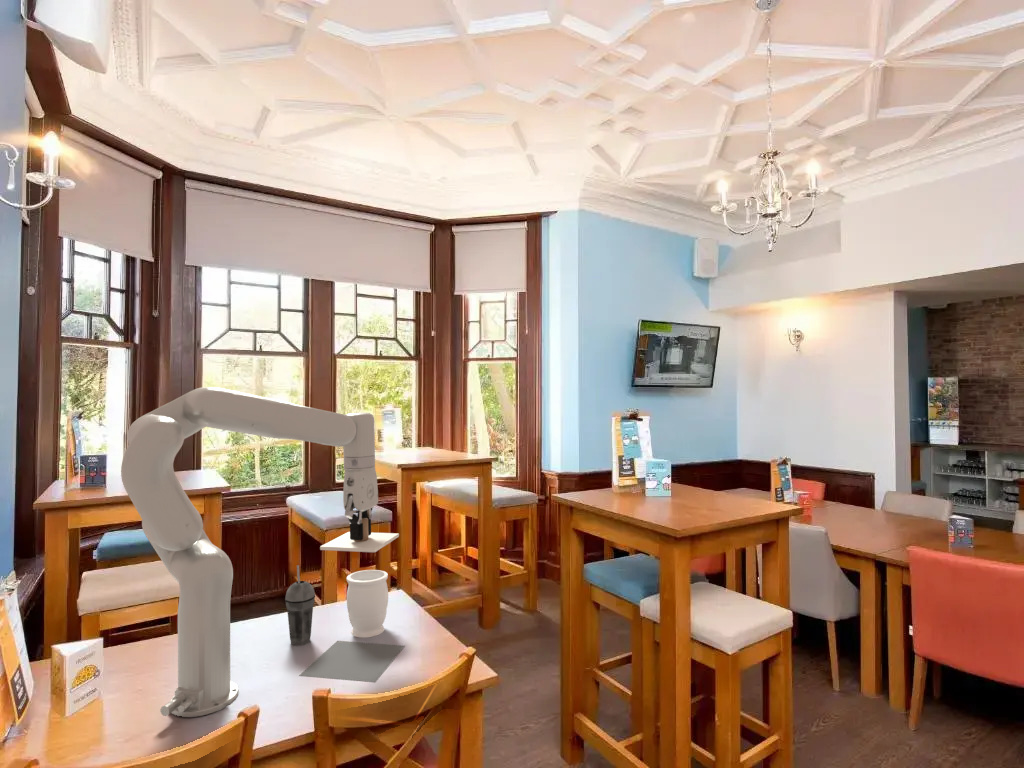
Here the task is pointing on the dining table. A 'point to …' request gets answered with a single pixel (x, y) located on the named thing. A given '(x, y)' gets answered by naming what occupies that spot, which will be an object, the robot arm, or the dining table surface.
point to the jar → (367, 602)
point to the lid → (361, 541)
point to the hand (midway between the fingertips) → (360, 536)
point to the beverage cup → (300, 611)
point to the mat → (353, 661)
